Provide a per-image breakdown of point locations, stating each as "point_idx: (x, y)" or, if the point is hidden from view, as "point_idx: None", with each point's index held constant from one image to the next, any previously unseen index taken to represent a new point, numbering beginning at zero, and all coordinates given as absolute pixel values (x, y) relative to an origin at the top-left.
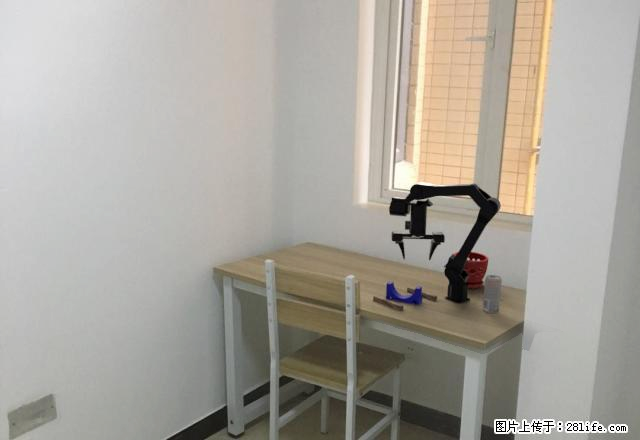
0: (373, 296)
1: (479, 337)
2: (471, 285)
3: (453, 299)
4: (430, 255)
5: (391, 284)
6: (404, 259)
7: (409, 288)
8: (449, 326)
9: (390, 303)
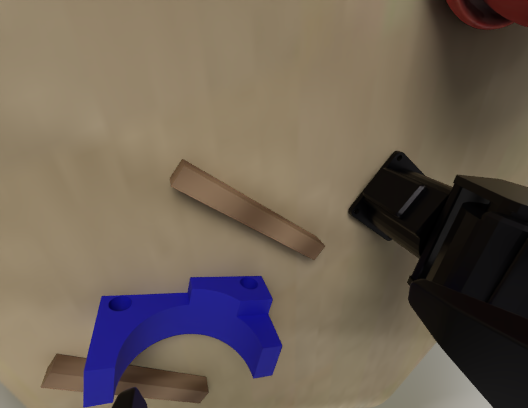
0: (41, 385)
1: (381, 395)
2: (501, 27)
3: (376, 227)
4: (462, 362)
5: (114, 386)
6: (144, 404)
7: (187, 193)
8: (333, 389)
9: (152, 395)
